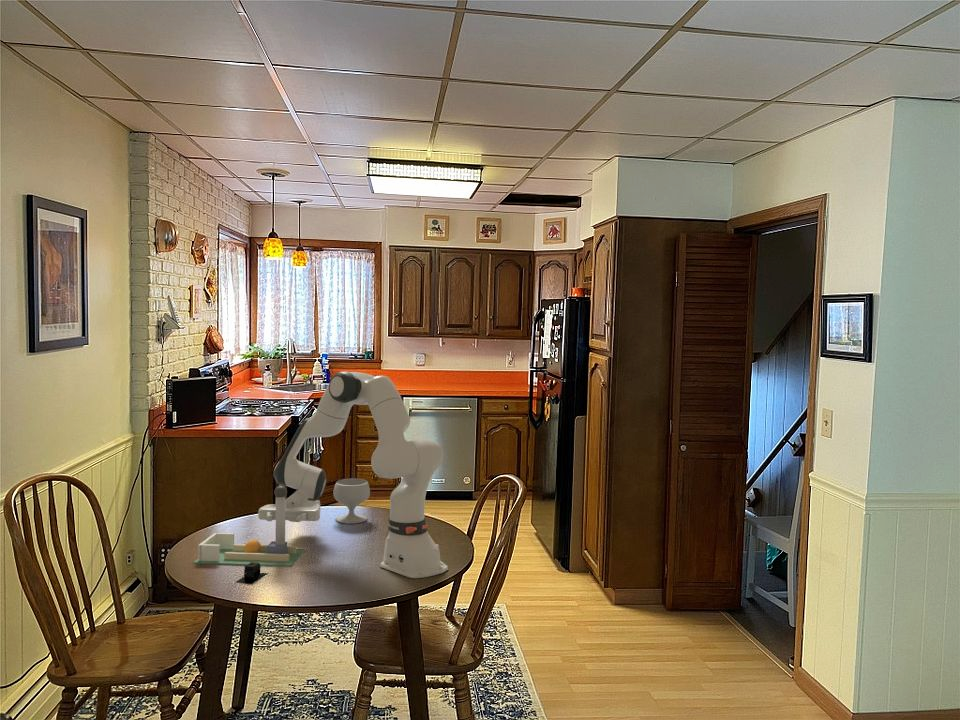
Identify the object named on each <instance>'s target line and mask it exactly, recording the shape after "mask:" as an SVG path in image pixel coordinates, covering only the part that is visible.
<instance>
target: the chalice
mask: <svg viewBox="0 0 960 720" xmlns="http://www.w3.org/2000/svg"><path fill="white" fill-rule="evenodd" d="M332 492H333V493H332V494H333V497H334V499H335V500H336V502H338V503H340V504H341V505H344V506H346V508H347V509H348V514H344V515H339V516H337V517H336V518H335V521H336V522H338V523H341V524H352V525H353V524H360V523H364V522H366V521H367V520H368V517H367V516H365V515H362V514H356V513H355V509H356V507H357V506H360V505H361V504H362V503H364V502H366V501H367V500H368V499H369V498H370V495H371V490H370V485H369V482H368V481H367V480H366V479H363V478H356V477H355V478H341V479H339V480H337V481H336V483H335V484H334V488H333V491H332Z"/></svg>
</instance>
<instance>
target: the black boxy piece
mask: <svg viewBox="0 0 960 720" xmlns="http://www.w3.org/2000/svg"><path fill="white" fill-rule="evenodd" d="M243 572H244V573H243V577H240V578H239V579H238V580H237V581H236V580H235V583H236V584H237V583H238V584H247V585H253V584H254V583H256V582H258V581H260V580H261V579H262V578H264V577H265V575H266V576H267V575H269V572H262V573H260V572H261V566H260V563H255V562H251V563H249V564H247V565H244V570H243Z"/></svg>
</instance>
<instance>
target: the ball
mask: <svg viewBox="0 0 960 720" xmlns="http://www.w3.org/2000/svg"><path fill="white" fill-rule="evenodd" d="M261 545H262V544H261V543H260V541H258V540H257V539H250V540H248V541H247V542H246V543H245V552H246V553H259V552H260V549H261Z"/></svg>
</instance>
